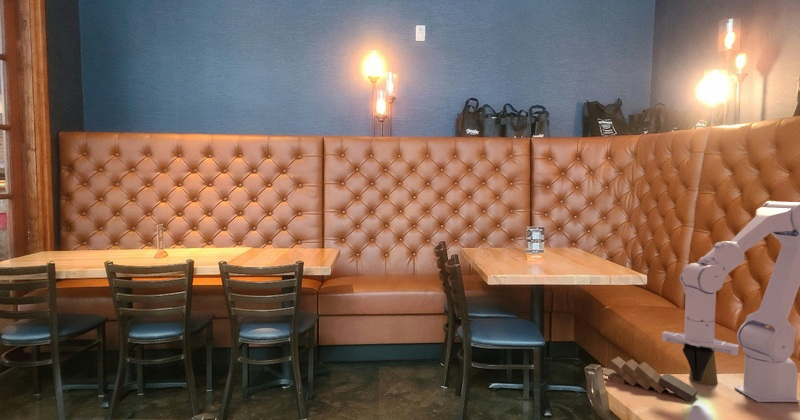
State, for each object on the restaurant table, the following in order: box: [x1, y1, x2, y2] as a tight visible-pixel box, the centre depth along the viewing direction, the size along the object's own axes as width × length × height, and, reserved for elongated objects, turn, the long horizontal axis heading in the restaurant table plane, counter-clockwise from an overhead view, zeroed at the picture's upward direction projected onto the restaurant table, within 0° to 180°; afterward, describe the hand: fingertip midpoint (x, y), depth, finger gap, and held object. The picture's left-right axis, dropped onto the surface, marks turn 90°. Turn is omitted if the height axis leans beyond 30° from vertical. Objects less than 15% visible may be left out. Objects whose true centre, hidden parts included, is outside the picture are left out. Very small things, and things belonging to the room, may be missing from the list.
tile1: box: [658, 372, 699, 403], centre depth 116 cm, size 2×4×7 cm
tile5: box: [601, 366, 628, 385], centre depth 126 cm, size 2×4×7 cm
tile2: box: [634, 361, 667, 395], centre depth 120 cm, size 2×4×7 cm
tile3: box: [622, 358, 653, 391], centre depth 122 cm, size 2×4×7 cm
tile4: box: [607, 356, 639, 387], centre depth 124 cm, size 2×4×7 cm
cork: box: [688, 337, 719, 386], centre depth 125 cm, size 6×6×11 cm
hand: (697, 380), depth 114 cm, fingers closed
